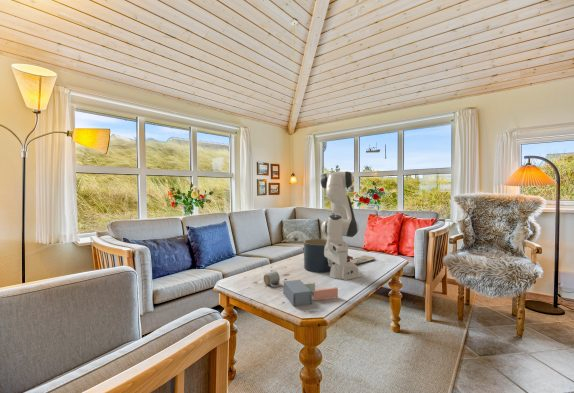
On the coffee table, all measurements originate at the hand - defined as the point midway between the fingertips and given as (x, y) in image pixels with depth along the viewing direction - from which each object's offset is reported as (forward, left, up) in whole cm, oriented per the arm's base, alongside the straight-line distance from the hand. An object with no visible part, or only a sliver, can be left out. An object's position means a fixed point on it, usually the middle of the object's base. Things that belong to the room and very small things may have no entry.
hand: (334, 269), depth 153 cm
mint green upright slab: (+14, -11, -16) cm, 24 cm away
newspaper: (-51, -57, -17) cm, 78 cm away
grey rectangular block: (+20, -5, -16) cm, 27 cm away
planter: (-14, -52, -17) cm, 56 cm away
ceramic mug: (+28, -30, -17) cm, 44 cm away
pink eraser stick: (+5, 0, -16) cm, 17 cm away
